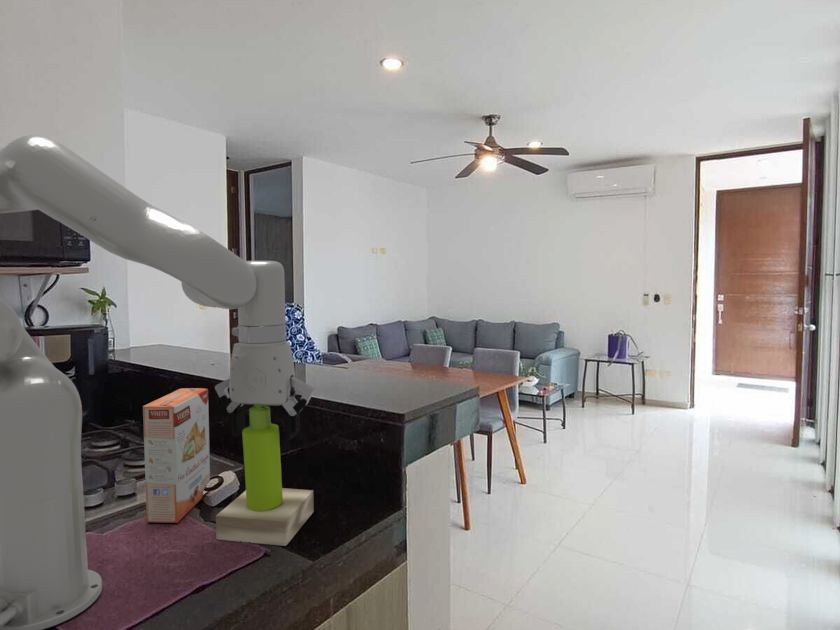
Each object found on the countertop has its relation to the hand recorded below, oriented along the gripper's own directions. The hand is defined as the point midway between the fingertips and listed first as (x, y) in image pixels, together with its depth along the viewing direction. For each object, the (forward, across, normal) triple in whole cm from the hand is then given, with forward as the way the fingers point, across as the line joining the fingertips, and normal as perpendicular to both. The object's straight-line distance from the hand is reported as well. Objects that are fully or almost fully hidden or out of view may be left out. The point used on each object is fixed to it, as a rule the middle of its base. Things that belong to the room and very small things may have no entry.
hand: (265, 435), depth 90 cm
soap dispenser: (+12, 0, 0) cm, 12 cm away
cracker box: (+16, -19, +4) cm, 25 cm away
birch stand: (+16, 0, 0) cm, 16 cm away
